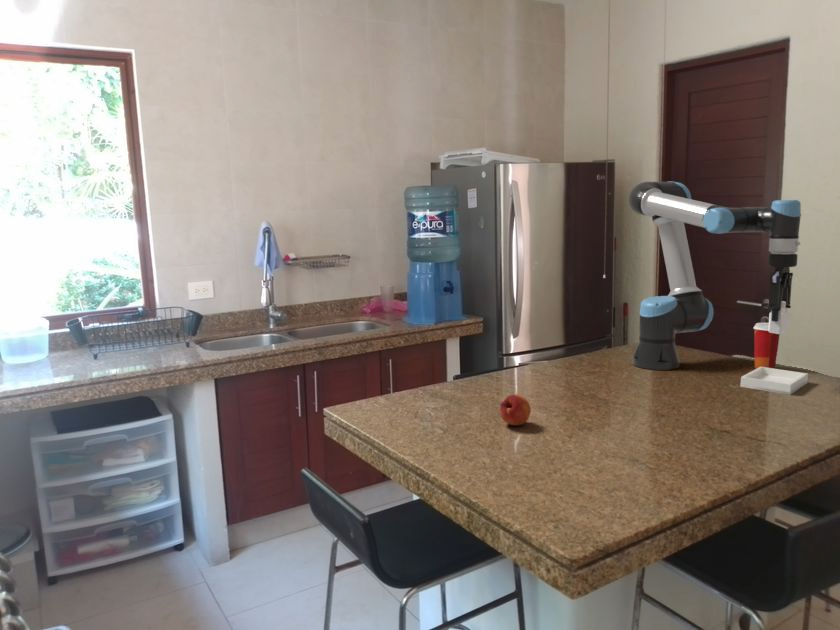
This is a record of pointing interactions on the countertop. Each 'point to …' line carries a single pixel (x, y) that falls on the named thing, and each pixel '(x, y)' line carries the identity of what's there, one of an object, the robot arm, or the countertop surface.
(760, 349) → the coffee cup
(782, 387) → the bin
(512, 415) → the fruit
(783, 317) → the salt shaker
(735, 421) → the countertop surface
